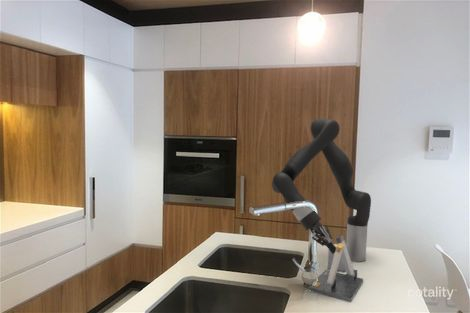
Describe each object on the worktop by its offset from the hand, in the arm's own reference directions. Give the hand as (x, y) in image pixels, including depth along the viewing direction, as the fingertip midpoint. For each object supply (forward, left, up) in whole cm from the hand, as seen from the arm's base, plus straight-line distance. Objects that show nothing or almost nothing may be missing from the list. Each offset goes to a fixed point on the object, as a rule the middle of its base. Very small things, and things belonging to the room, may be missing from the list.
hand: (335, 251), depth 135 cm
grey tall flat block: (-13, +4, -14) cm, 20 cm away
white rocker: (0, -2, -14) cm, 15 cm away
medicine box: (-24, -6, -17) cm, 30 cm away
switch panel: (-7, -1, -16) cm, 18 cm away
